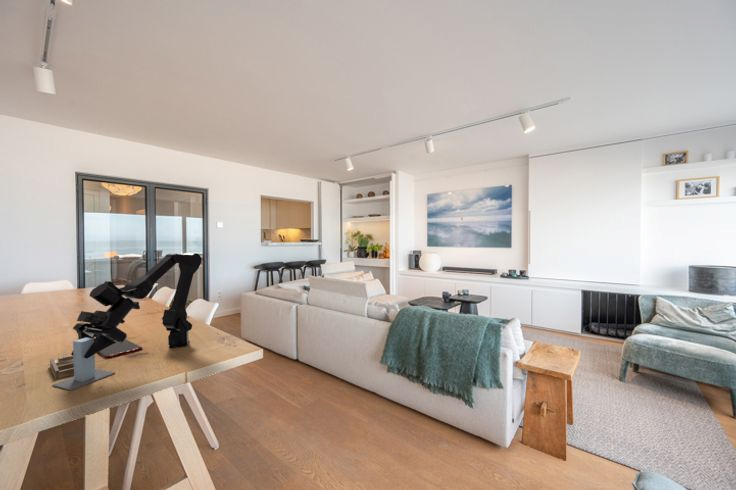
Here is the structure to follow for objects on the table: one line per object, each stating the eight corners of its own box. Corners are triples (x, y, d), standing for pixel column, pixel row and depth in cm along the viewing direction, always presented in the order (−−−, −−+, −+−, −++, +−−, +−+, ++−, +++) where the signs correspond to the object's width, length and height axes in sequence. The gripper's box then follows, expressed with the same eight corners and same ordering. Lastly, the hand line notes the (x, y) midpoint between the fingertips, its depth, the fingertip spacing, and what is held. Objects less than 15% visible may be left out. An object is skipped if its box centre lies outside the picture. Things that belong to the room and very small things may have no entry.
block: (87, 375, 101) (86, 337, 101) (95, 376, 100) (94, 338, 100) (74, 379, 98) (73, 340, 98) (82, 381, 97) (81, 342, 96)
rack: (76, 360, 114) (76, 353, 114) (84, 371, 105) (83, 364, 105) (50, 366, 109) (50, 359, 109) (55, 378, 100) (55, 371, 100)
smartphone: (122, 336, 140) (143, 346, 125) (122, 339, 140) (143, 350, 125) (86, 344, 130) (105, 356, 115) (86, 347, 130) (105, 360, 115)
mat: (97, 369, 106) (97, 368, 106) (114, 373, 103) (114, 372, 103) (52, 385, 95) (52, 384, 95) (70, 390, 92) (70, 389, 92)
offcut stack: (77, 361, 114) (76, 352, 114) (79, 364, 111) (78, 354, 111) (54, 366, 109) (53, 357, 109) (55, 369, 107) (55, 360, 107)
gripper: (78, 298, 105) (36, 341, 95) (115, 302, 99) (74, 348, 89) (105, 316, 113) (69, 357, 103) (141, 320, 107) (106, 364, 97)
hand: (78, 356), depth 98 cm, fingers open, 6 cm apart
